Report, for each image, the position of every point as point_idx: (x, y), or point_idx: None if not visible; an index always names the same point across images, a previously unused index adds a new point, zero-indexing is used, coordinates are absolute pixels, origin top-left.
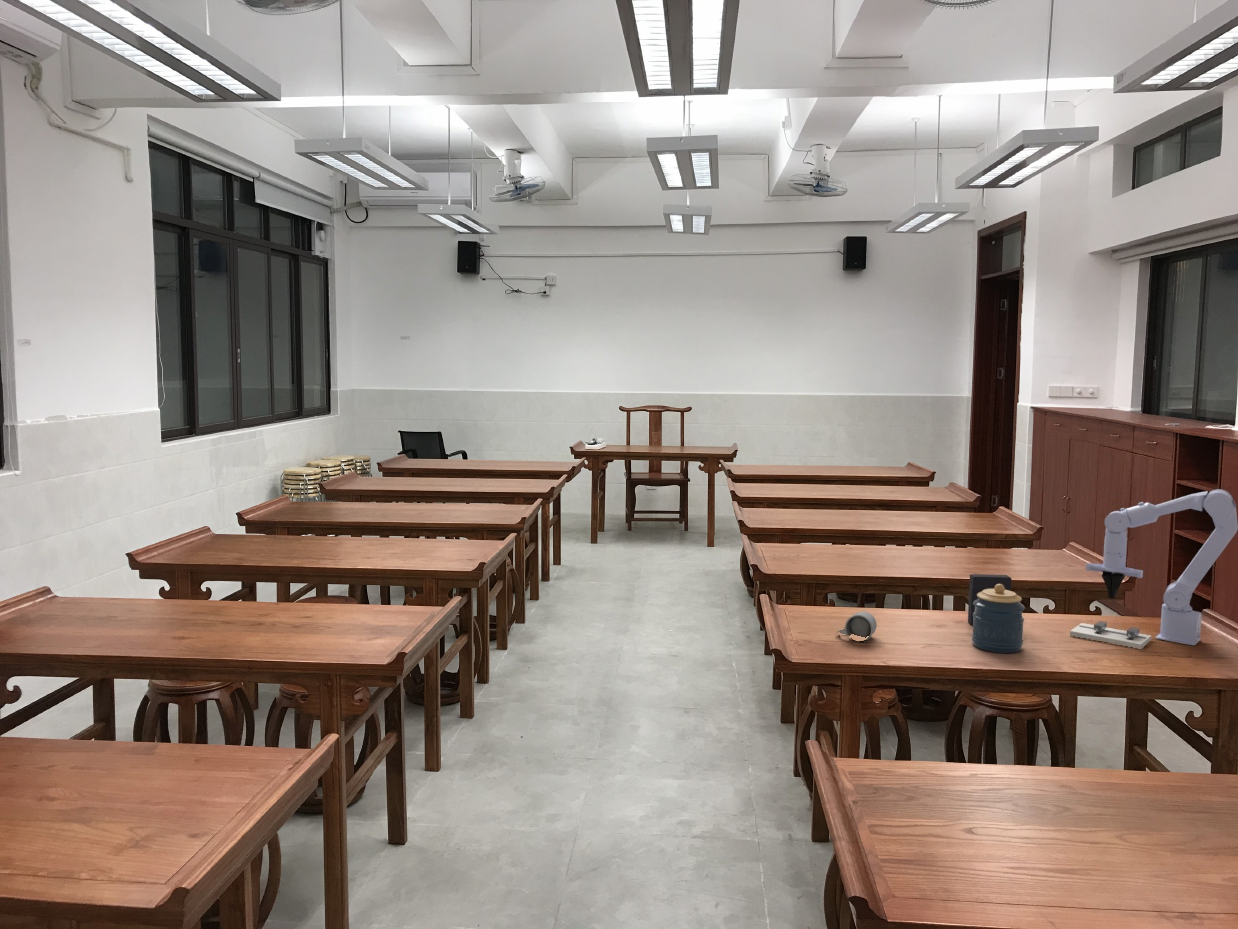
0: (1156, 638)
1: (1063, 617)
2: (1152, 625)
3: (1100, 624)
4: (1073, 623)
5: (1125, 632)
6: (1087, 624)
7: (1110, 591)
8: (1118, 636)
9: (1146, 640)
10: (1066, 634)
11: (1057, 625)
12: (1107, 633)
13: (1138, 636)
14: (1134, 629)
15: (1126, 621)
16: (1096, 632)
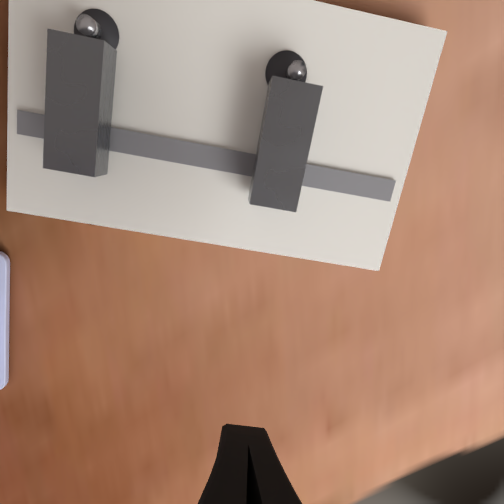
0: (3, 253)
1: (448, 408)
2: (75, 489)
3: (283, 122)
4: (405, 328)
5: (144, 196)
6: (349, 254)
7: (258, 473)
8: (167, 67)
9: (10, 89)
10: (445, 71)
11: (483, 244)
12: (234, 106)
13: None
14: (64, 114)
15: (184, 492)
16: None
